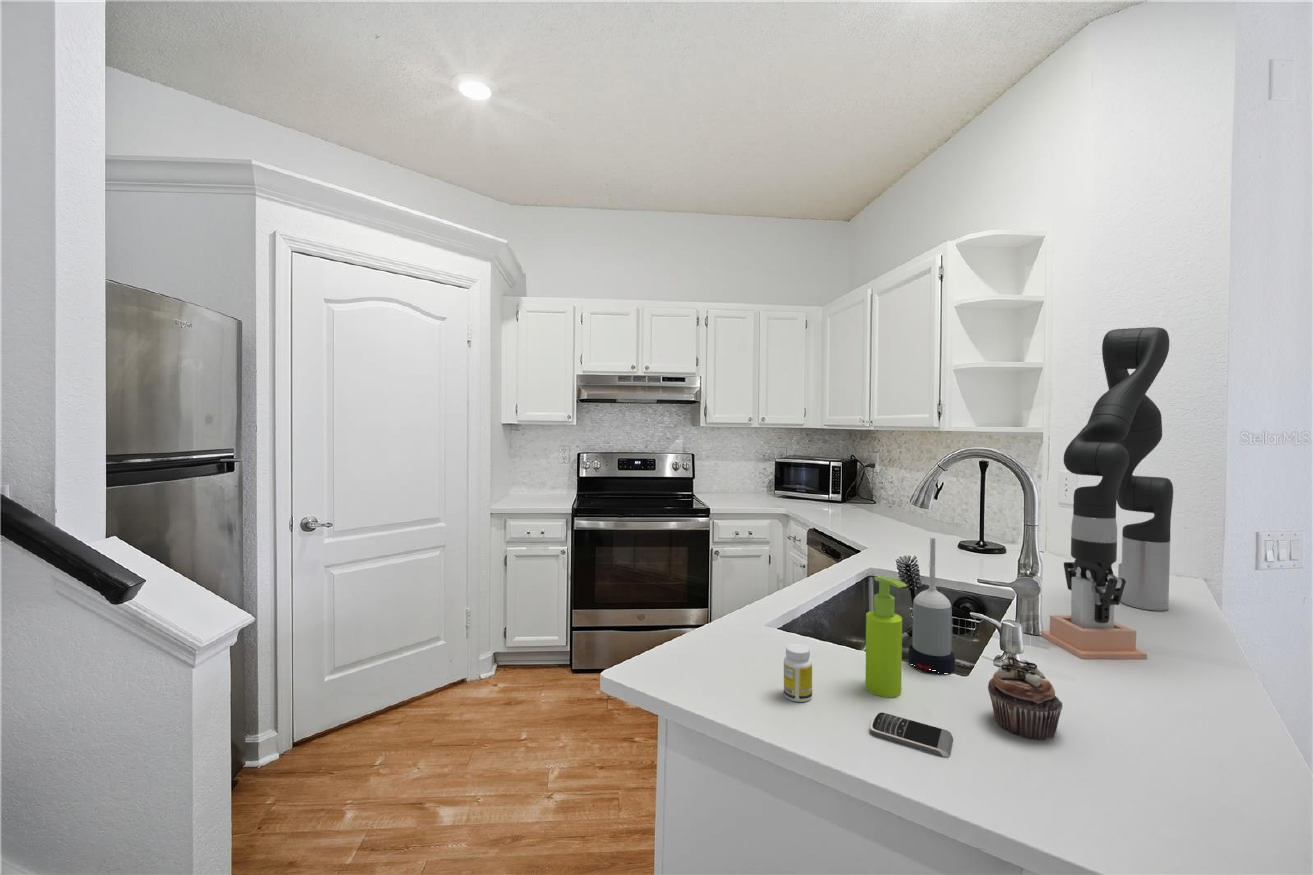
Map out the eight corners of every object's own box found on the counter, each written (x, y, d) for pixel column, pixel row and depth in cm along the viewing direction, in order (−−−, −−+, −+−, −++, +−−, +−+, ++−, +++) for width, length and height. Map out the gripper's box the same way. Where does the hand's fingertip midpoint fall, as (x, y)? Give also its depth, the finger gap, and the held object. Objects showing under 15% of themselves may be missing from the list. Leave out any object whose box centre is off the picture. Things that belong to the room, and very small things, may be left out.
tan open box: (1040, 635, 122) (1040, 613, 121) (1099, 635, 121) (1099, 613, 121) (1081, 658, 110) (1082, 634, 109) (1147, 659, 109) (1147, 634, 109)
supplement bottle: (812, 691, 96) (813, 644, 96) (811, 705, 92) (811, 655, 92) (785, 687, 98) (785, 641, 98) (782, 700, 93) (782, 651, 93)
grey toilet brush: (915, 673, 103) (917, 541, 103) (903, 655, 111) (904, 532, 111) (961, 676, 102) (964, 543, 101) (946, 657, 110) (948, 534, 109)
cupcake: (1065, 751, 79) (1066, 682, 79) (986, 731, 84) (987, 666, 84) (1059, 720, 87) (1060, 658, 87) (987, 703, 92) (989, 645, 92)
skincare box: (1099, 632, 117) (1101, 576, 117) (1114, 640, 113) (1116, 583, 113) (1069, 631, 118) (1070, 576, 117) (1082, 639, 114) (1084, 582, 113)
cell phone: (876, 718, 88) (876, 710, 88) (954, 741, 82) (954, 731, 82) (867, 737, 83) (867, 728, 83) (949, 762, 77) (950, 752, 77)
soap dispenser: (890, 703, 92) (892, 585, 92) (858, 685, 98) (859, 575, 98) (913, 695, 95) (915, 581, 94) (881, 678, 101) (882, 571, 101)
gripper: (1141, 545, 108) (1139, 631, 108) (1085, 530, 122) (1083, 606, 122) (1103, 545, 108) (1101, 631, 108) (1051, 530, 122) (1049, 606, 123)
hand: (1091, 617), depth 115 cm, fingers open, 4 cm apart
